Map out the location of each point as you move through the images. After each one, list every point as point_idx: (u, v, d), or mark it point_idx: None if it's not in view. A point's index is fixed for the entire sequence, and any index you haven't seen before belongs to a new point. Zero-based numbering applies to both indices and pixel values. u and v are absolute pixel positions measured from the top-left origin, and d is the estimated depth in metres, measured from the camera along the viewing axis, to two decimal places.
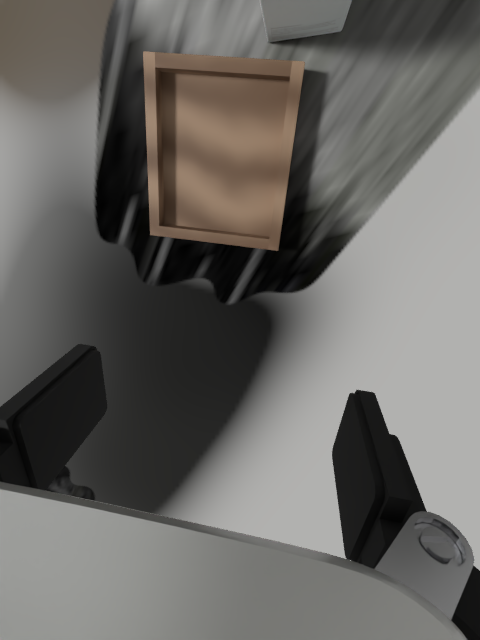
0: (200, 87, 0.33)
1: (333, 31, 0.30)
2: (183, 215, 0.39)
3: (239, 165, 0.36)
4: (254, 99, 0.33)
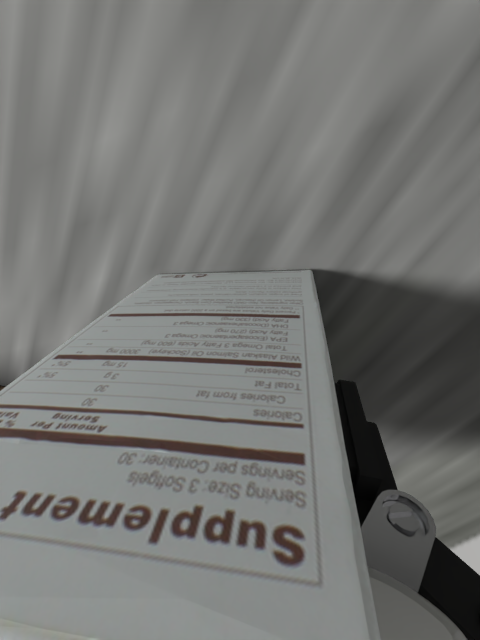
0: None
1: None
2: None
3: None
4: None
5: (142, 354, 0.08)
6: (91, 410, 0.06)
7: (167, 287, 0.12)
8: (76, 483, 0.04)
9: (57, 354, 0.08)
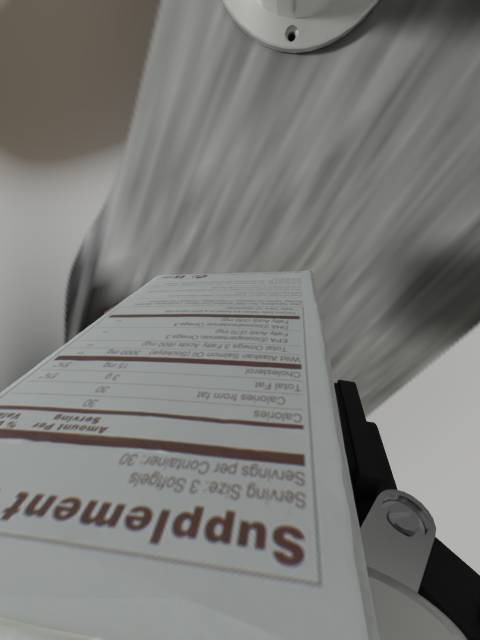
0: None
1: None
2: None
3: None
4: None
5: (143, 355, 0.08)
6: (92, 411, 0.06)
7: (167, 288, 0.12)
8: (78, 485, 0.04)
9: (58, 355, 0.08)
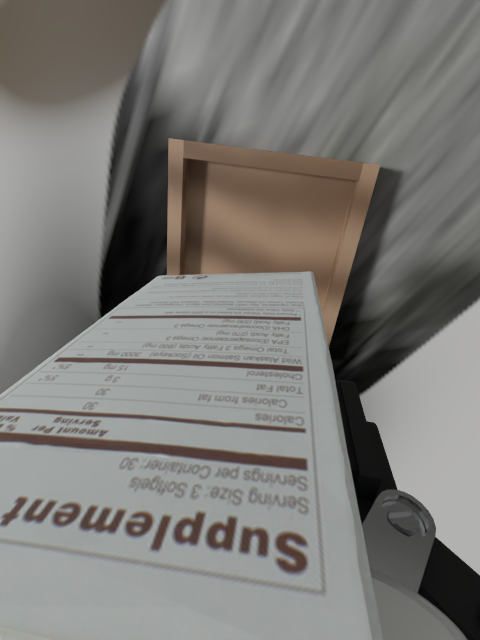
0: (238, 179, 0.26)
1: None
2: None
3: (280, 269, 0.29)
4: (306, 197, 0.26)
5: (144, 357, 0.08)
6: (92, 414, 0.06)
7: (168, 289, 0.12)
8: (77, 489, 0.04)
9: (58, 357, 0.08)
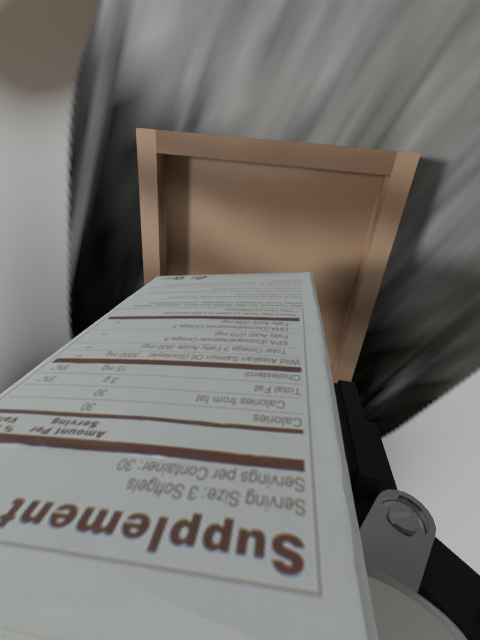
0: (230, 178, 0.20)
1: None
2: None
3: None
4: (318, 199, 0.20)
5: (142, 358, 0.08)
6: (90, 415, 0.06)
7: (167, 290, 0.12)
8: (75, 490, 0.04)
9: (56, 358, 0.08)
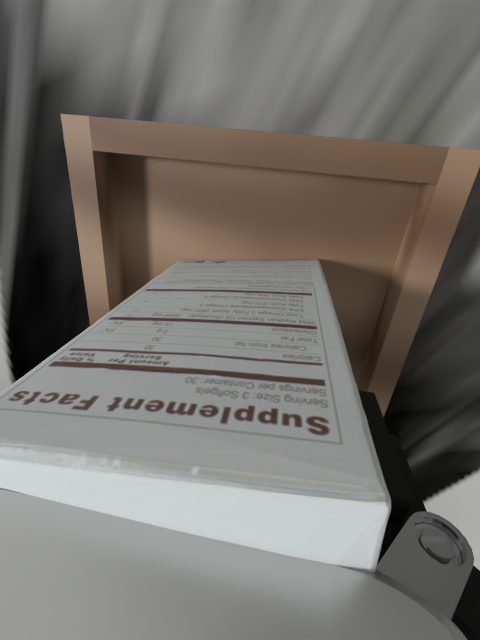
0: (202, 187, 0.15)
1: None
2: None
3: None
4: (326, 217, 0.14)
5: (184, 317, 0.09)
6: (153, 352, 0.07)
7: (191, 270, 0.14)
8: (158, 393, 0.06)
9: (110, 316, 0.09)
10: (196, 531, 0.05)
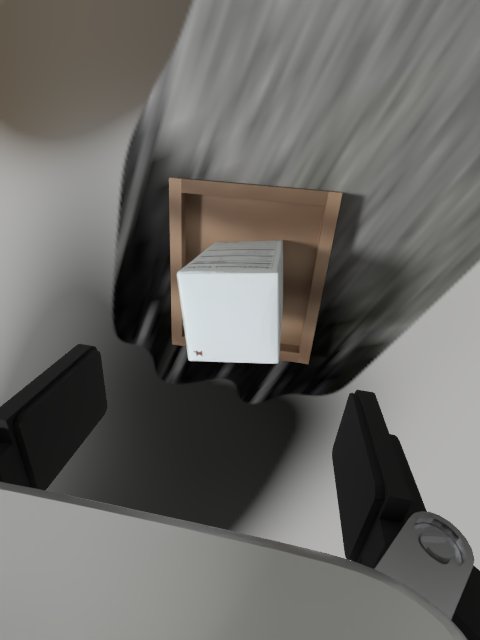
0: (227, 207, 0.31)
1: None
2: None
3: None
4: (285, 220, 0.31)
5: (227, 255, 0.26)
6: (221, 261, 0.24)
7: (224, 244, 0.31)
8: (226, 265, 0.23)
9: (200, 256, 0.26)
10: (239, 287, 0.21)
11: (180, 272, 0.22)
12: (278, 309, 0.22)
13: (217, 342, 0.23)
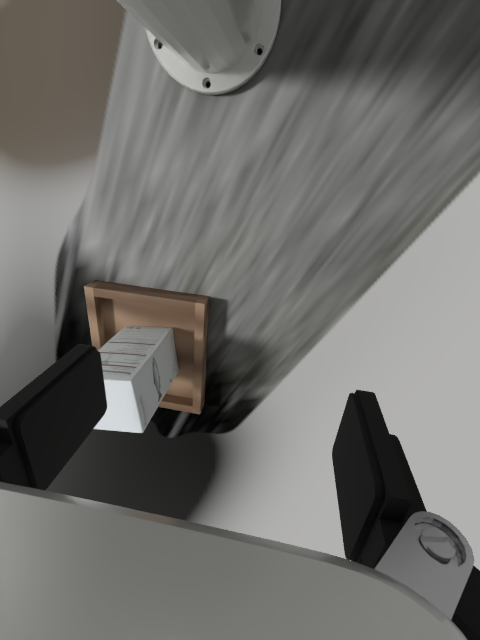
0: (131, 303, 0.42)
1: None
2: None
3: None
4: (172, 314, 0.42)
5: (116, 352, 0.37)
6: (106, 361, 0.35)
7: (126, 333, 0.42)
8: (105, 369, 0.34)
9: None
10: (109, 387, 0.33)
11: None
12: (136, 401, 0.33)
13: (101, 418, 0.35)
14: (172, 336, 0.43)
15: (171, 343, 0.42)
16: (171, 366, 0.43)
